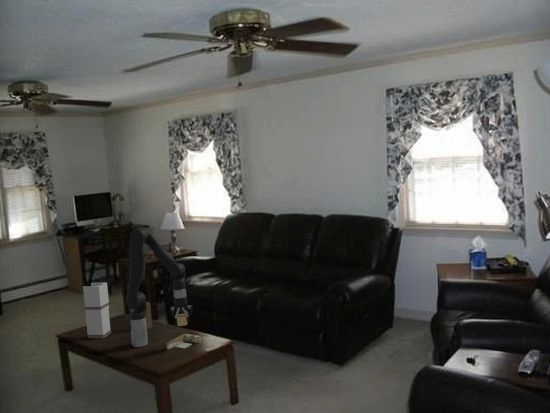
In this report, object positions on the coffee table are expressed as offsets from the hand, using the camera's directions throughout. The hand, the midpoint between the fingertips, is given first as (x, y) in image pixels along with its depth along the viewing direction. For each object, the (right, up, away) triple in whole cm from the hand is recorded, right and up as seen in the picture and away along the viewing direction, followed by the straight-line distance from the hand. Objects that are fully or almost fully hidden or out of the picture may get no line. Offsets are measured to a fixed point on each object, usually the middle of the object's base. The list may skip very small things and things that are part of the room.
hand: (182, 322), depth 302 cm
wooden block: (-33, -13, +38) cm, 52 cm away
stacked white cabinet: (-62, -16, +31) cm, 71 cm away
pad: (+1, -14, +1) cm, 14 cm away
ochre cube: (0, -1, 0) cm, 1 cm away
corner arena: (+2, -14, 0) cm, 14 cm away
